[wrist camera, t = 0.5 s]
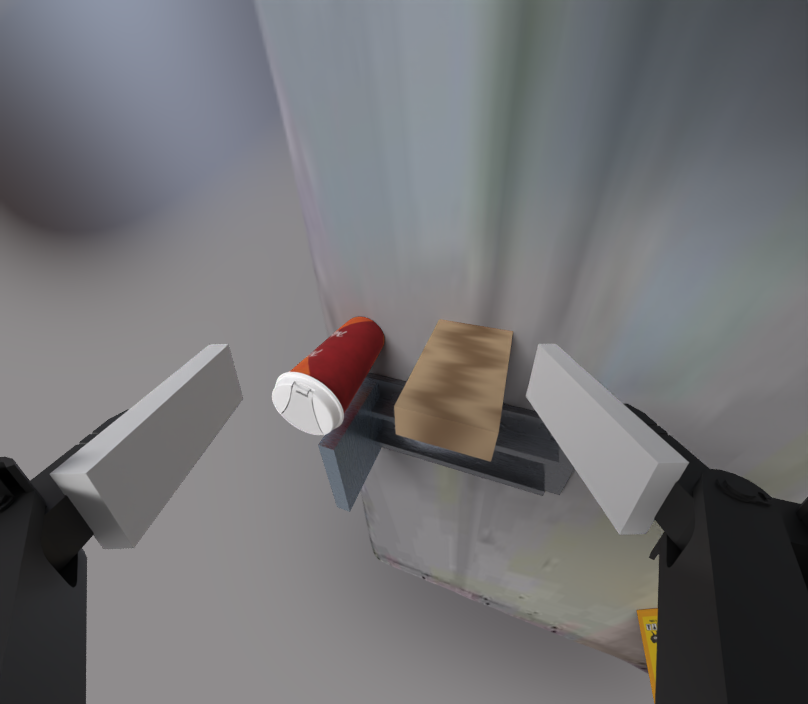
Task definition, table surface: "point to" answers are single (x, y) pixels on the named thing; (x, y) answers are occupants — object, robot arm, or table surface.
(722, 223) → the table surface
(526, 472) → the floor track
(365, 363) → the paper cup
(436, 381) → the door panel
